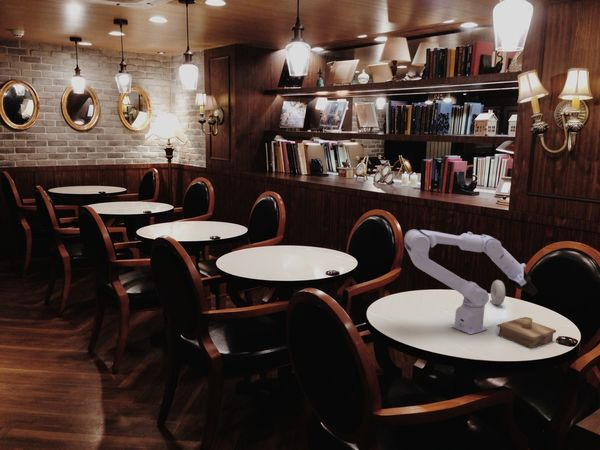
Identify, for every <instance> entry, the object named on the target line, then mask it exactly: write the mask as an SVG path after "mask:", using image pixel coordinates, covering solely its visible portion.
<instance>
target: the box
mask: <svg viewBox="0 0 600 450" xmlns="http://www.w3.org/2000/svg"><path fill="white" fill-rule="evenodd" d="M498 336H500V337H502V338H505V339H507V340H510V341H512V342H514V343H517V344H520V345H522V346H525V347H527V348H530V349H532V348H534V347H538V346H541V345H544V344H547V343H550V342H552V341H553V340H554V339H553V337H554V333H553V334H549V335H546V336H543V337H540V338H537V339H534V340H531V339H528V338H526V337H523V336H520V335H518V334H515V333H513V332H510V331H507V330H505V329H502V328H499V331H498Z"/></svg>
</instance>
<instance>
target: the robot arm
mask: <svg viewBox="0 0 600 450" xmlns="http://www.w3.org/2000/svg"><path fill="white" fill-rule="evenodd" d="M437 244H441V245H450V246H458V247H459V249H460V250H462V251H469V252H475V253H482V252H484V253H485V254H486V255H487V256H488V257H489V258H490V259H491V261H492V262H493V263H495V265H496V266H498V268H499V269H500V270H501V271H502V272H503V273H504V274H505V275H506V276H507V278H508V279H510V280H512V281H514V282H516V284H514V286H515V288H516V289H517V290H521V291H524V292H526V293H527V294H529V295H531V296H532V297H533V296H535V295H537V294H538V293H539V291H538V290H537V287H536V286H535V285H534V284H533V281H532V278H531V276H530V275H528V274H527V273H526V271H525V268H526V267H527V265H526V263H524V262H523V263H522V262H518V261H517V260H516V258H514V256H512V254H510V252H509V251H507V249H505V247H503V246H502V243H501V241H500V240H498V239H497V238H494V237H493V236H490V235H487V234H481V235H479V234H473V232H471V231H467V233H466V232H464V233H462V234H460V235H455V234H450V233H444V232H441V231H434V230H427V229H419V230H418V229H414V228H413V229H409V230H408V231H407V232H406V233H405V235H404V247H405V249H406V250H407V253H408V255H409V257H410V260H411V261H412V263H413V265H414V266H415V267H416V268H418V269H419V270H421V271H422V272H423V273H424V272H425V274H427V275H429V276H431V277H432V278H434V279H436V280H438V281H439V282H441V283H443V284H444V285H446V286H448V287H449V288H451V289H452V290H454V291H456V292H458V293H460V294H461V295H462V297H463V300H462V304H461V305H460V306H459V307H457V308H456V310H455V318H454V325H452V328H454V329H455V330H459V331H461V332H464V333H466V334H469V335H473V334H477V333H481V332H484V331H487V330H489V328H488V327H486V326H484V319H485V318H484V317H485V316H484V315H485V305H487V304H488V301H489V299H490V296H489V293H488V292H487V290H486V289H483V288H482V287H480V286H479V285H478V284H477V283H476V282H474V281H468V280H465V278H464V279H463V278H461V277H460V276H458V275H457V274H455V273H454V272H452V271H450V270H448V269H446V268H445V267H443V266H441V265H440V264H438V263H437V262H435V261H434V260H432V259H430V257H429V252H430V248H434V247H435V246H436V245H437Z"/></svg>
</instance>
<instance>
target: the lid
mask: <svg viewBox="0 0 600 450" xmlns="http://www.w3.org/2000/svg"><path fill="white" fill-rule="evenodd" d="M497 327H498V328H499V329H500V328H502V329H505V330H507V331H510V332H513V333H515V334H518V335H520V336H523V337H526V338H528V339H531V340H534V339H537V338H540V337H543V336H546V335H549V334H553V335H554V334H556V332H557V329H554V328H551V327H548V326H546V325H543V324H539V323H536V322H534V321H533V318H531V317H527V316H526V317H525V316H524V317H520V318H516V319H513V320H509V321H504V322H503V323H499V324H497Z"/></svg>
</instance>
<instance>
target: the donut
mask: <svg viewBox="0 0 600 450" xmlns="http://www.w3.org/2000/svg"><path fill="white" fill-rule="evenodd" d="M490 298H491V301H492V303H493V304H494V305H496V306H501V305H502V304H503V303H504V301H505V298H506V286H505V283H504V282H503V281H502V280H500V279H496V280H494V281H493V282H492V284H491V286H490Z"/></svg>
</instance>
